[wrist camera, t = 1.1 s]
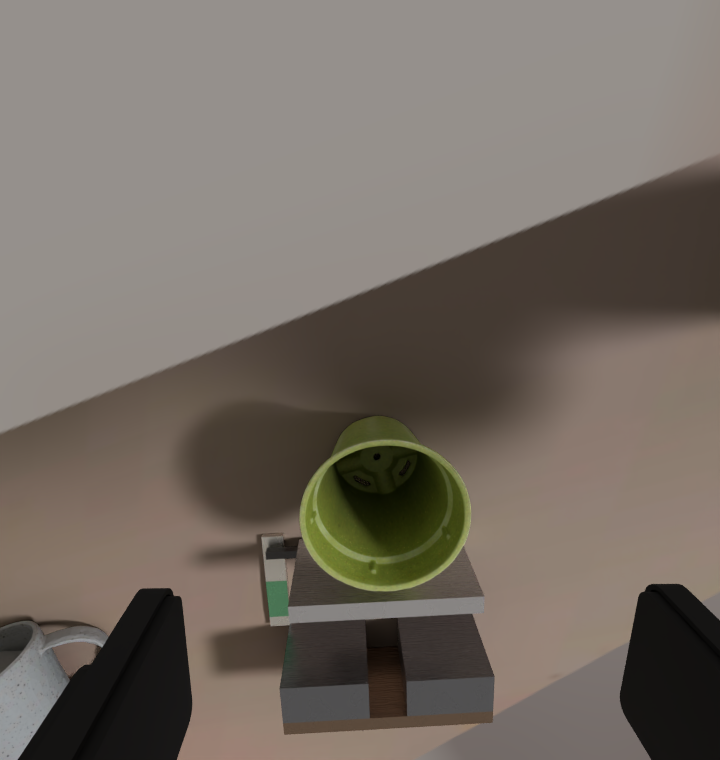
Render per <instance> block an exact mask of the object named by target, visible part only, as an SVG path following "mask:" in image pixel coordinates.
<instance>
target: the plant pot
mask: <svg viewBox="0 0 720 760" xmlns="http://www.w3.org/2000/svg"><path fill="white" fill-rule="evenodd" d="M375 454H380V459H379V460H375V459H374V455H375ZM407 460H409V462H410V466H409V468H408V470H407V472H406V473H405V474H404V475H402V476H400V475H399V473H400V472H401V471H402V469H403V468H404V467H405V465H406V462H407ZM354 476H357V477H359V478H361V479H362V480H364V481H368V482H370V485H368V486H365V485H362V484H360V483H358V482H357V481H355V479H354ZM299 523H300V530H301V534H302V538H303V541H304V544H305V546H306V548H307V550H308V552H309V553H310V555H311V557H312V558H313V559H314V561H315V562H316V563H317V564H318V565H319V566H320V567H321V568H322V569H323V570H324V571H325V572H327V573H328V574H329V575H331V576H332V577H334V578H335V579H337V580H339V581H341V582H343V583H345V584H348V585H350V586H353V587H356V588H359V589H364V590H369V591H397V590H402V589H407V588H412V587H415V586H417V585H420V584H422V583H425V582H426V581H429V580H430V579H432V578H434V577H435V576H437V575H438V574H439V573H441V572H442V571H443V570H444V569H446V568H447V567H448V566H449V565H450V564H451V563H452V562H453V561H454V560H455V558H456V557H457V555H458V554H459V552H460V551H461V549H462V547H463V546H464V544H465V541H466V539H467V536H468V533H469V528H470V523H471V505H470V499H469V495H468V492H467V489H466V486H465V484H464V482H463V480H462V478H461V477H460V475H459V474H458V472H457V471H456V470H455V468H454V467H453V466H452V465H451V464H450V463H449V462H448V461H447V460H446V459H445V458H444V457H442V456H441V455H440V454H438V453H437V452H435V451H434V450H432V449H430V448H428V447H426V446H424V445H421V444H420V442H419V441H418V440H417V438H416V437H415V436H414V435H413V433H412V432H411V431H410V430H409V429H408V428H407V427H406V426H405V425H404V424H402V423H401V422H399V421H397V420H395V419H393V418H390V417H385V416H372V417H368V418H364V419H361V420H358V421H356V422H354V423H352V424H351V425H349V426H348V427H347V428H346V429H345V430H344V431H343V432H342V434H341V435H340V437H339V439H338V441H337V443H336V445H335V448H334V450H333V453H332V455H331V457H330V458H329V459H327V460H326V461H325V462H324V463H323V464H322V465H321V466H320V467H319V468H318V470H317V471H316V472H315V473H314V475H313V476H312V478H311V479H310V481H309V483H308V485H307V487H306V489H305V492H304V494H303V497H302V501H301V505H300V513H299Z"/></svg>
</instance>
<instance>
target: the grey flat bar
mask: <svg viewBox="0 0 720 760" xmlns="http://www.w3.org/2000/svg"><path fill="white" fill-rule="evenodd" d="M265 553H266V560H270V559H289V558H296V562H295V568H294V573H293V579H292V585H291V591H290V597H289V603H288V614H289V623H306V622H325V621H344V620H362V619H381V618H399V617H418V616H437V615H455V614H474V613H484V594H483V592H482V590H481V587H480V585H479V582H478V580H477V577H476V575H475V573H474V570H473V568H472V565H471V563H470V560H469V558H468V555H467V553H466V551H465V548H464V546H463V547H462V549H461V551H460V552H459V554H458V555H457V557H456V558H455V560H454V561H453V562H452V563H451V564H450V565H449V566H448V567H447V568H446V569H444V570H443V571H442V572H441V573H439V574H438V575H437V576H435V577H434V578H432V579H430V580H429V581H426V582H425V583H422V584H420V585H417V586H415V587H412V588H407V589H402V590H397V591H369V590H364V589H359V588H356V587H353V586H350V585H348V584H345V583H343V582H341V581H339V580H337V579H335V578H334V577H332V576H331V575H329V574H328V573H327V572H325V571H324V570H323V569H322V568H321V567H320V566H319V565H318V564H317V563H316V562H315V561H314V559H313V558H312V557H311V555H310V553H309V552H308V550H307V548H306V546H305V544H304V541H303V539H299V544H298V546H289V547H270V548H267V549H266V552H265Z"/></svg>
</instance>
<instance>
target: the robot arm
mask: <svg viewBox="0 0 720 760" xmlns="http://www.w3.org/2000/svg"><path fill="white" fill-rule="evenodd" d="M620 702H621V707H622V709H623V713H624V715H625V716H626V718H627V720H628V722H629V723H630V725H631V727H632V728H633V730H634V732H635V733H636V735H637V737H638V738H639V740H640V741H641V743H642V745H643V746H644V748H645V750H646V751H647V753H648V755H649V756H650V758H651V760H720V620H719V619H718V618H716V616H715V615H713V613H711V612H710V611H709V610H708V609H707V608H706V607H705V606H704V605H703V604H702V603H701V602H700V601H699V600H698V599H697V598H696V597H695V596H694V595H693V594H692V593H691V592H690V591H689V590H688V589H687V588H685V587H684V586H683V585H680V584H651V585H648V586H647V587H646V590H645V592H641V593H640V594H639V597H638V602H637V607H636V612H635V618H634V623H633V628H632V633H631V639H630V644H629V649H628V655H627V660H626V665H625V670H624V675H623V681H622V686H621V691H620ZM191 712H192V694H191V684H190V675H189V665H188V655H187V646H186V636H185V626H184V617H183V607H182V600H181V597H180V596H174V595H173V591H172V590H171V589H169V588H152V589H140V590H139V591H138V592H137V593H136V595H135V596H134V598H133V600H132V601H131V603H130V604H129V606H128V607H127V609H126V611H125V612H124V614H123V615H122V617H121V618H120V620H119V622H118V623H117V625H116V626H115V628H114V629H113V631H112V633H111V634H110V636H109V637H108V639H107V640H106V642H105V644H104V645H103V647H102V648H101V650H100V651H99V653H98V655H97V656H96V658H95V659H94V661H93V662H92V664H91V665H84V666H83V667H81V668H80V669H78V671H77V672H76V673H75V674H74V676H73V677H72V678H71V680H70V681H69V683H68V684H67V686H66V687H65V689H64V690H63V692H62V693H61V695H60V696H59V698H58V699H57V701H56V702H55V704H54V705H53V707H52V709H51V710H50V712H49V713H48V715H47V716H46V718H45V719H44V721H43V722H42V724H41V725H40V727H39V728H38V730H37V731H36V733H35V734H34V736H33V737H32V739H31V740H30V742H29V743H28V745H27V746H26V748H25V749H24V751H23V752H22V754H21V755H20V757H19V758H18V760H177V757H178V754H179V751H180V748H181V745H182V742H183V740H184V737H185V734H186V731H187V728H188V725H189V722H190V717H191Z"/></svg>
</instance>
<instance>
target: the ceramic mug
mask: <svg viewBox="0 0 720 760" xmlns="http://www.w3.org/2000/svg"><path fill="white" fill-rule="evenodd" d="M107 639H108V636H107V634H106V633H105V632H103V631H102V630H100V629H98V628H95V627H91V626H73V627H69V628H65V629H62V630H58V631H55V632H53V633H50V634H48V635H44V633H43V631H42V630H41V628H40V627H39V626H38V624H37V623H35V622H33V621H20V622H15V623H12V624H9V625H6V626H4V627H1V628H0V760H18V758H19V757H20V755H21V754H22V752H23V751H24V749H25V748H26V746H27V745H28V743H29V742H30V740H31V739H32V737H33V736H34V734H35V733H36V731H37V730H38V728H39V727H40V725H41V724H42V722H43V721H44V719H45V718H46V716H47V715H48V713H49V712H50V710H51V709H52V707H53V705H54V704H55V702H56V701H57V699H58V698H59V696H60V695H61V693H62V692H63V690H64V689H65V687H66V686H67V684H68V683H69V681H70V679H69V678H68V676H67V674H66V673H65V671H64V669H63V668H62V666H61V665H60V663H59V661H58V659H57V657H56V655H55V653H54V651H53V649H52V647H55V646H59V645H62V644H66V643H71V642H87V643H93V644H95V645H98V646H100V647H101V648H102V647H103V645H104V644H105V642H106V640H107Z"/></svg>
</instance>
